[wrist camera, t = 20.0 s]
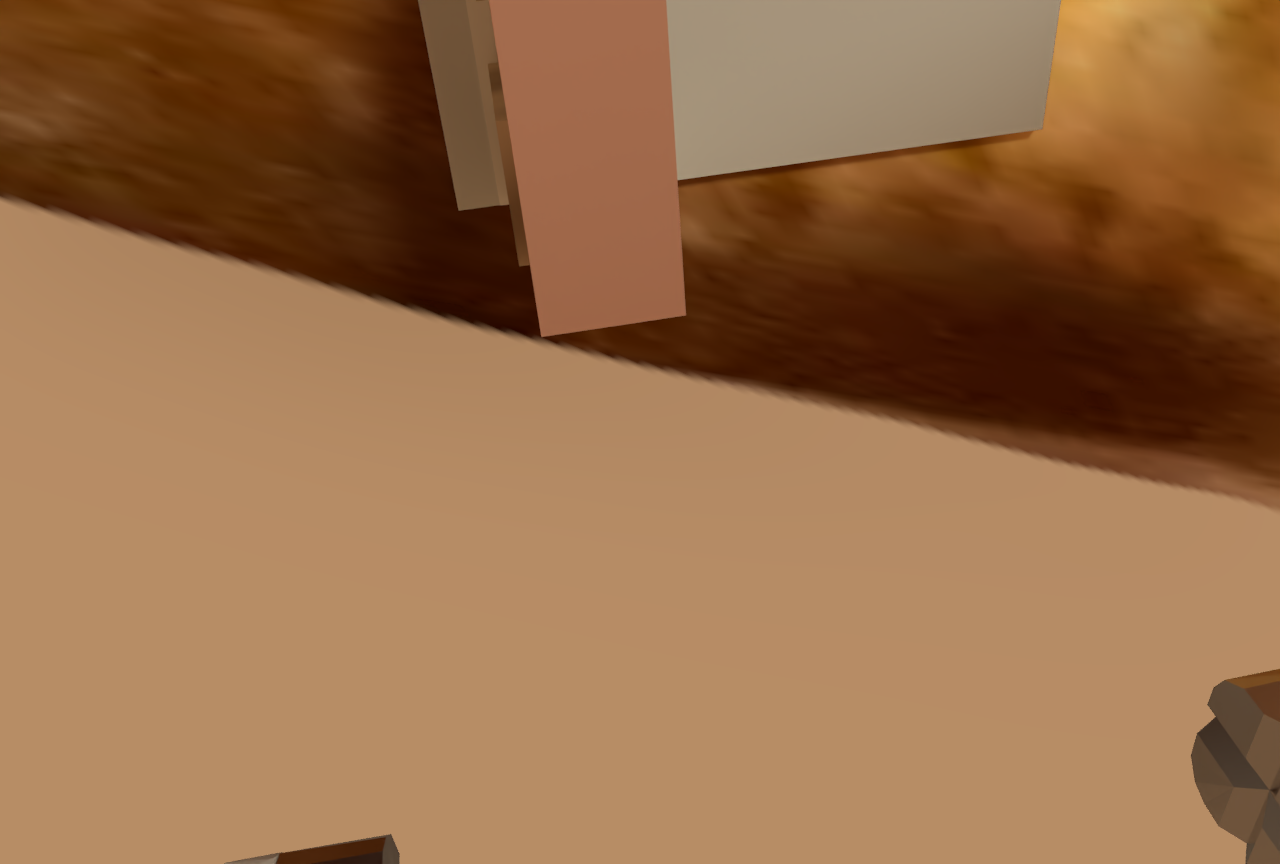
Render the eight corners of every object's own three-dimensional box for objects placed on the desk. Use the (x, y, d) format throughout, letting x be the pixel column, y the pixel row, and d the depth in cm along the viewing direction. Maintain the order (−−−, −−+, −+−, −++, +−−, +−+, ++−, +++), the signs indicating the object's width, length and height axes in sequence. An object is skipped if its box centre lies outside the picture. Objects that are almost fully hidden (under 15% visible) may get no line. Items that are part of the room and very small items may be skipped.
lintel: (530, 268, 33) (541, 337, 30) (456, -208, 26) (460, -184, 23) (661, 249, 34) (685, 315, 30) (625, -227, 26) (653, -205, 23)
